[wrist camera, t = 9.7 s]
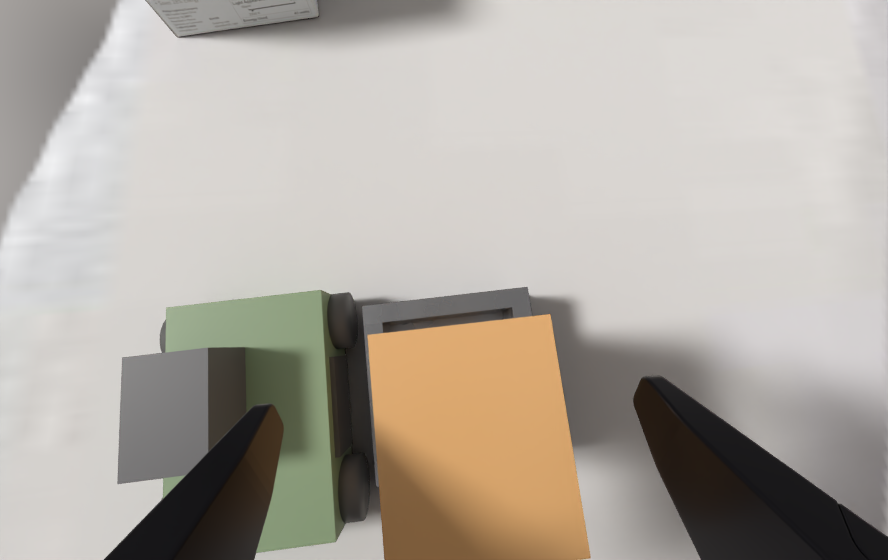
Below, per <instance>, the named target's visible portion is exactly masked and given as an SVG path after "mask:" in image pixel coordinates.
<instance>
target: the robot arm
mask: <svg viewBox="0 0 888 560" xmlns="http://www.w3.org/2000/svg"><path fill="white" fill-rule="evenodd" d="M633 402H634V407H635V410H636V413H637V415H638V418H639V421H640V424H641V426H642V429H643V432H644V435H645V437H646V440H647V443H648V445H649V448H650V451H651V454H652V456H653V459H654V462H655V464H656V467H657V469H658V471H659V473H660V475H661V478H662V480H663V482H664V484H665V486H666V488H667V490H668V492H669V494H670V496H671V498H672V500H673V503H674V505H675V507H676V509H677V511H678V513H679V515H680V517H681V519H682V521H683V523H684V525H685V527H686V529H687V532H688V534H689V536H690V538H691V540H692V542H693V544H694V546H695V548H696V550H697V552H698V554H699V556H700V558H701V560H888V537H887V536H886V535H884V534H883V533H882V532H880V531H879V530H877V529H876V528H874V527H873V526H872V525H870V524H869V523H867V522H866V521H864V520H863V519H862V518H860V517H859V516H857V515H856V514H855V513H853V512H852V511H850V510H849V509H848V508H846V507H845V506H843V505H842V504H838V503H837V501H836V500H835V499H833V498H832V497H830V496H829V495H828V494H826V493H825V492H823V491H822V490H821V489H819V488H818V487H816V486H815V485H814V484H812V483H811V482H809V481H808V480H807V479H805V478H804V477H802V476H801V475H800V474H798V473H797V472H795V471H794V470H793V469H791V468H790V467H788V466H787V465H786V464H784V463H783V462H781V461H780V460H779V459H777V458H776V457H774V456H773V455H772V454H770V453H769V452H767V451H766V450H765V449H763V448H762V447H760V446H759V445H758V444H756V443H755V442H753V441H752V440H751V439H749V438H748V437H746V436H745V435H744V434H742V433H741V432H739V431H738V430H737V429H735V428H734V427H732V426H731V425H730V424H728V423H727V422H725V421H724V420H723V419H721V418H720V417H718V416H717V415H715V414H714V413H713V412H711V411H710V410H708V409H707V408H706V407H704V406H703V405H701V404H700V403H699V402H697V401H696V400H694V399H693V398H692V397H690V396H689V395H687V394H686V393H685V392H683V391H682V390H680V389H679V388H678V387H676V386H675V385H673V384H672V383H671V382H669V381H668V380H666V379H665V378H663V377H661V376H645V377H643V378H642V379H641V380H640V383H639V385H638V387H637V390H636V392H635V395H634V399H633ZM283 433H284V425H283V422H282V420H281V418H280V416H279V413H278V411H277V409H276V407H275V406H274V405H273V404H272V403H266V404H257V405H254V406H253V407H252V408H250V410H249V411H248V412H247V413H246V414H245V415H244V416H243V417H242V418H241V419H240V420H239V421H238V422H237V423H236V424H235V425H234V426H233V427H232V428H231V429H230V430H229V431H228V432H227V433H226V434H225V435H224V436H223V437H222V438H221V439H220V440H219V441H218V442H217V444H216V445H215V446H214V447H213V448H212V449H211V450H210V451H209V452H208V453H207V454H206V455H205V456H204V457H203V458H202V459H201V460H200V461H199V462H198V463H197V464H196V465H195V466H194V467H193V468H192V469H191V470H190V471H189V472H188V473H187V474H186V475H185V476H184V478H183V479H182V480H181V481H180V482H179V483H178V484H177V485H176V486H175V487H174V488H173V489H172V490H171V491H170V492H169V493H168V494H167V495H166V496H165V497H164V498H163V499H162V500H161V501H160V502H159V503H158V504H157V505H156V506H155V507H154V508H153V509H152V510H151V512H150V513H149V514H148V515H147V516H146V517H145V518H144V519H143V520H142V521H141V522H140V523H139V524H138V525H137V526H136V527H135V528H134V529H133V530H132V531H131V532H130V533H129V534H128V535H127V536H126V537H125V538H124V539H123V540H122V541H121V542H120V543H119V544H118V546H117V547H116V548H115V549H114V550H113V551H112V552H111V553H110V554H109V555H108V556H107V557H106V558H105V559H104V560H254V558H255V555H256V551H257V548H258V544H259V541H260V537H261V534H262V531H263V527H264V524H265V520H266V517H267V513H268V510H269V506H270V502H271V498H272V494H273V489H274V483H275V478H276V472H277V467H278V461H279V455H280V450H281V444H282V439H283Z"/></svg>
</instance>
